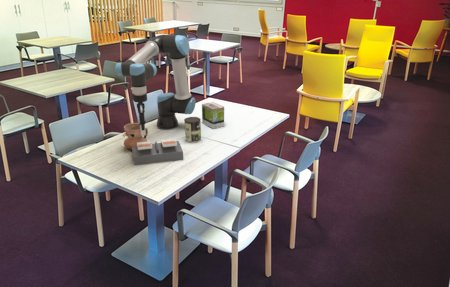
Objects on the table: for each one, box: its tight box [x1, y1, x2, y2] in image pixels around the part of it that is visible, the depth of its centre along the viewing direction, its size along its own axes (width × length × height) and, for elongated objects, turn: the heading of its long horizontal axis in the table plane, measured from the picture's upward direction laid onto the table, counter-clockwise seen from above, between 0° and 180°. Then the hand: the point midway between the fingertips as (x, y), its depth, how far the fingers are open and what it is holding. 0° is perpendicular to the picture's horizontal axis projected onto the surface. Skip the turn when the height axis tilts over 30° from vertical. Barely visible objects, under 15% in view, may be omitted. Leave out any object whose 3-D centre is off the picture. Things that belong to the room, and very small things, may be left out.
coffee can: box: [183, 116, 202, 144], centre depth 237 cm, size 10×10×14 cm
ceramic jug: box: [122, 122, 149, 151], centre depth 226 cm, size 18×14×14 cm
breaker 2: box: [160, 138, 177, 147], centre depth 215 cm, size 14×8×2 cm, turn 15°
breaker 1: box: [137, 140, 153, 150], centre depth 212 cm, size 14×8×2 cm, turn 15°
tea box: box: [201, 101, 225, 130], centre depth 262 cm, size 15×10×15 cm, turn 34°
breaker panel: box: [131, 140, 184, 166], centre depth 216 cm, size 16×28×7 cm, turn 105°
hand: (143, 134), depth 204 cm, fingers closed
